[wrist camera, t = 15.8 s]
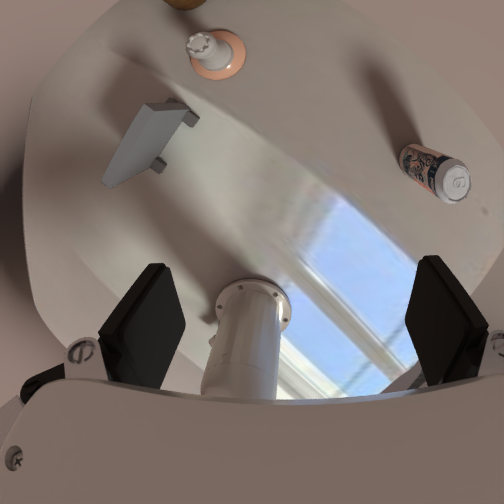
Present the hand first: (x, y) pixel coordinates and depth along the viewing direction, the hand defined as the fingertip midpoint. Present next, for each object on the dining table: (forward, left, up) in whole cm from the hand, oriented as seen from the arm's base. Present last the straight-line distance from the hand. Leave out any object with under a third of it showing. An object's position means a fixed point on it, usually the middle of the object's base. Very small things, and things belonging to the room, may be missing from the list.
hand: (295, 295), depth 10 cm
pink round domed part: (+5, +16, -28) cm, 33 cm away
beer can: (+12, -12, -28) cm, 33 cm away
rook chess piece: (+5, +16, -28) cm, 32 cm away
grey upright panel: (-8, +15, -28) cm, 33 cm away
